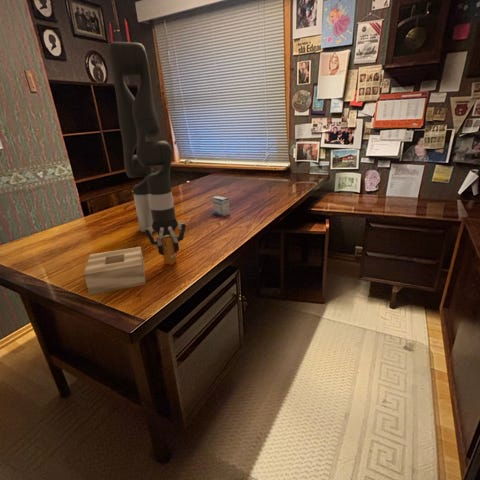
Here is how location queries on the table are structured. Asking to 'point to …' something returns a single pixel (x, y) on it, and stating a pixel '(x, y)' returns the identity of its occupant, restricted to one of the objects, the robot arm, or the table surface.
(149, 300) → the table surface
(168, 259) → the supplement box
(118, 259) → the bore block
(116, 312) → the table surface
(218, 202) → the medicine box
